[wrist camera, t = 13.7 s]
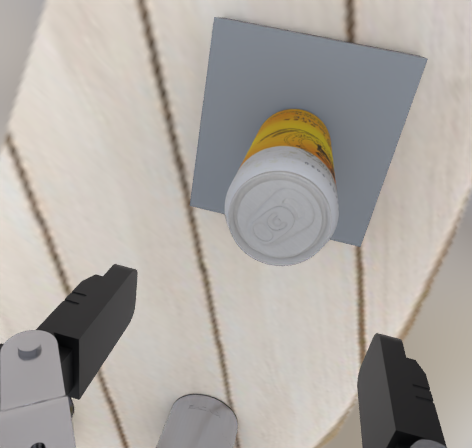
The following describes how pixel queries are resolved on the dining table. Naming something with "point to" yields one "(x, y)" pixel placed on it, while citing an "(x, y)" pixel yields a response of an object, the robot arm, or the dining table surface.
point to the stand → (304, 98)
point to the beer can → (285, 191)
